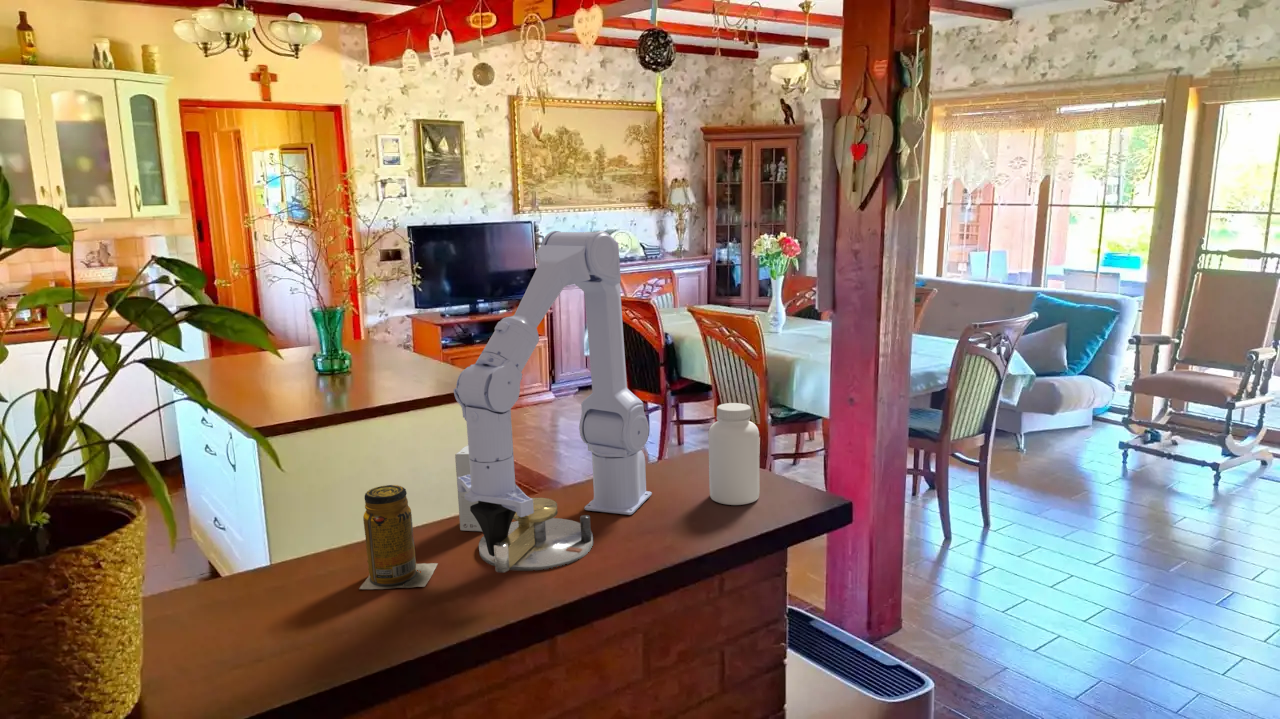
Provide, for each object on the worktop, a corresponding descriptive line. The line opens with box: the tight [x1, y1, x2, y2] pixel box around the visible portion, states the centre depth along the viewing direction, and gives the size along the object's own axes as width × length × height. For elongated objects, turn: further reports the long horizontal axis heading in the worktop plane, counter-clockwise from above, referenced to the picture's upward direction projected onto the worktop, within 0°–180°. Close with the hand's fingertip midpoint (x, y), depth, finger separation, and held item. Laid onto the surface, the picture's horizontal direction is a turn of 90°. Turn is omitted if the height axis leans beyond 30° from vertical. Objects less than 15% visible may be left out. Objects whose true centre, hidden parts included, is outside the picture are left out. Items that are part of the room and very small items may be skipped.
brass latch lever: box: [494, 497, 558, 573], centre depth 119 cm, size 15×6×5 cm, turn 163°
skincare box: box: [454, 444, 482, 532], centre depth 131 cm, size 6×4×12 cm
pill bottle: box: [708, 402, 760, 506], centre depth 138 cm, size 8×8×15 cm
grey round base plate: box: [478, 514, 594, 572], centre depth 123 cm, size 16×16×4 cm
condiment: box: [358, 484, 439, 590], centre depth 114 cm, size 7×8×12 cm
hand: (497, 553), depth 116 cm, fingers closed
